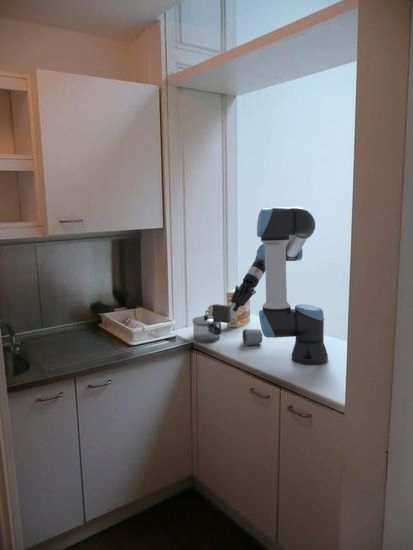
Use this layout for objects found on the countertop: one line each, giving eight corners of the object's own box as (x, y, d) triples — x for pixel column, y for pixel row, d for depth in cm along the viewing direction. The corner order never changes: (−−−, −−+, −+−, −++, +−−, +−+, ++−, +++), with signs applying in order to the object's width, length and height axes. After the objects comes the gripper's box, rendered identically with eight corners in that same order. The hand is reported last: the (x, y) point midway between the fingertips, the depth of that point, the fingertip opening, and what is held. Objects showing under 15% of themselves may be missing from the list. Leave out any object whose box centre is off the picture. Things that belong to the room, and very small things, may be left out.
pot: (231, 344, 217) (231, 326, 215) (207, 349, 212) (206, 330, 210) (209, 331, 239) (209, 315, 238) (186, 335, 234) (186, 318, 233)
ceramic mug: (263, 345, 213) (263, 330, 212) (246, 347, 212) (246, 331, 211) (256, 339, 224) (255, 324, 223) (240, 341, 222) (239, 326, 221)
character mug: (208, 332, 238) (207, 308, 236) (203, 329, 245) (202, 305, 242) (227, 329, 242) (226, 306, 240) (221, 326, 249) (220, 303, 247)
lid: (187, 323, 224) (186, 305, 222) (202, 316, 235) (201, 299, 234) (222, 328, 213) (221, 309, 211) (236, 321, 224) (235, 303, 223)
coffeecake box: (238, 328, 244) (237, 292, 241) (226, 326, 248) (225, 291, 245) (250, 321, 257) (250, 287, 254) (239, 320, 261) (238, 286, 257)
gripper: (266, 283, 227) (242, 322, 219) (247, 280, 237) (224, 317, 229) (258, 274, 222) (234, 313, 215) (240, 271, 232) (216, 309, 225)
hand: (229, 315), depth 222 cm, fingers closed
